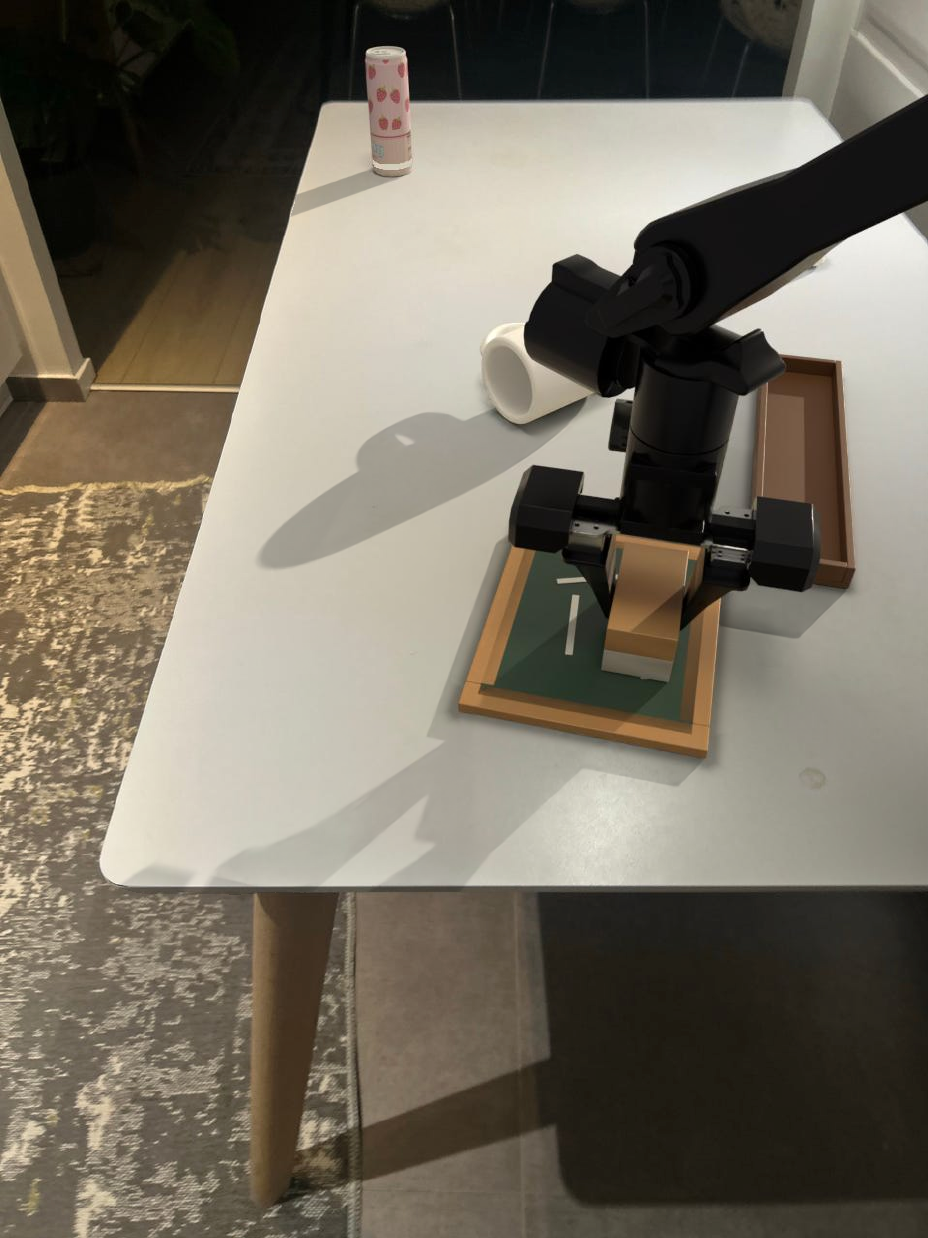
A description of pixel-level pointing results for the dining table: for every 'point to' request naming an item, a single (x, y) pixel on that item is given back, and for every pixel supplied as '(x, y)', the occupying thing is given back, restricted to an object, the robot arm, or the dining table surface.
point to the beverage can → (389, 108)
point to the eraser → (646, 612)
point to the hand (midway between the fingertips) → (644, 620)
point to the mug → (522, 378)
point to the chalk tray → (808, 455)
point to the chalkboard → (586, 661)
